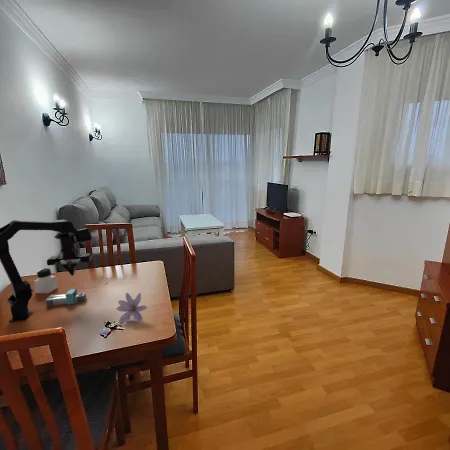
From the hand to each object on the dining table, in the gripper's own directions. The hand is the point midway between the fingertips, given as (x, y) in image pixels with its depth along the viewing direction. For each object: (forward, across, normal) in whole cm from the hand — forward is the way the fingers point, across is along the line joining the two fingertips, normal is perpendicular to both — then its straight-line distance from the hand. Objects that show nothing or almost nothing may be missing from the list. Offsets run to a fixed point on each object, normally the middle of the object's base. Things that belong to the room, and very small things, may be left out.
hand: (72, 275), depth 129 cm
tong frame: (+12, +3, +5) cm, 13 cm away
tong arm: (+12, +5, +3) cm, 13 cm away
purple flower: (+12, -30, +27) cm, 42 cm away
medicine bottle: (+12, +18, -12) cm, 25 cm away
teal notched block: (+12, 0, +5) cm, 13 cm away
